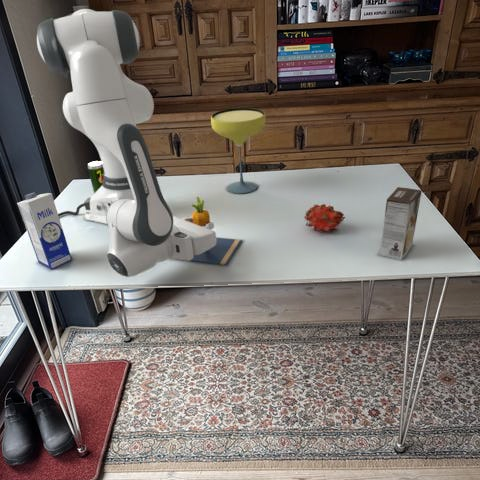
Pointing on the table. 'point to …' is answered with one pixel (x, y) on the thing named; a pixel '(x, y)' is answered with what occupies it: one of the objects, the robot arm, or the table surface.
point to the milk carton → (45, 229)
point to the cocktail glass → (239, 135)
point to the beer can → (95, 174)
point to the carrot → (200, 213)
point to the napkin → (218, 252)
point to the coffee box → (400, 222)
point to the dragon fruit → (323, 218)
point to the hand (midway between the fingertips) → (204, 221)
